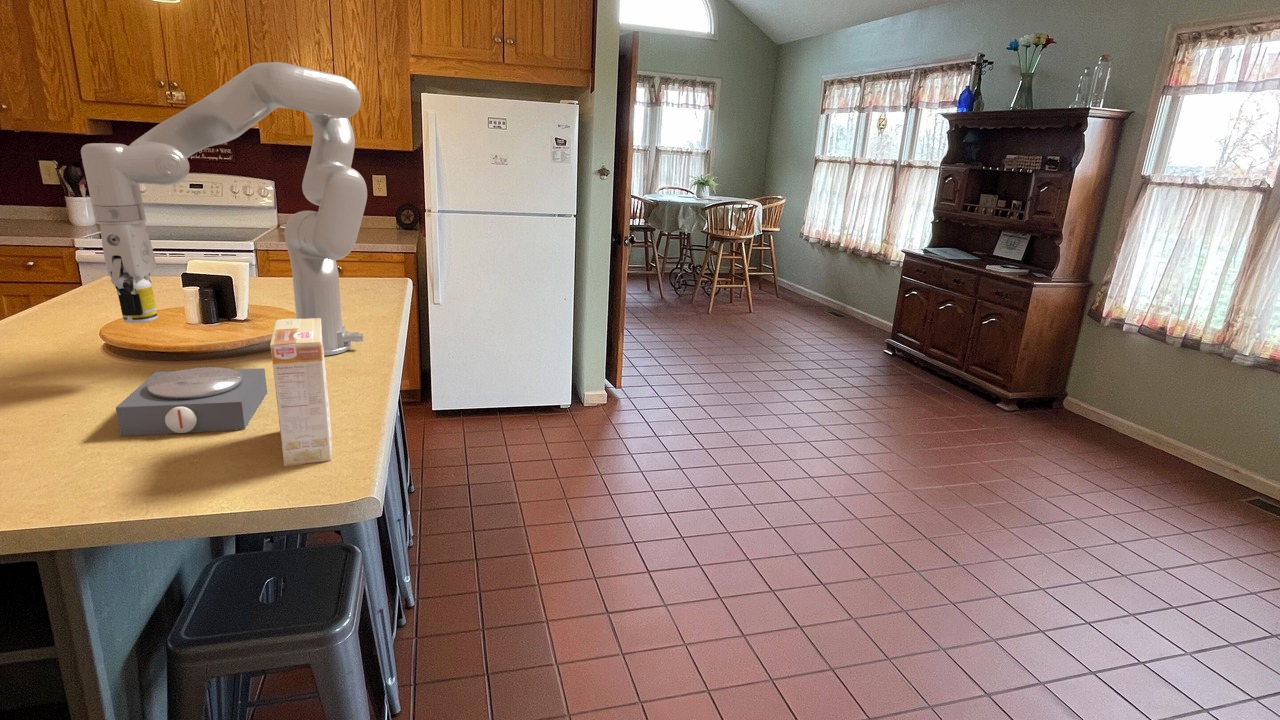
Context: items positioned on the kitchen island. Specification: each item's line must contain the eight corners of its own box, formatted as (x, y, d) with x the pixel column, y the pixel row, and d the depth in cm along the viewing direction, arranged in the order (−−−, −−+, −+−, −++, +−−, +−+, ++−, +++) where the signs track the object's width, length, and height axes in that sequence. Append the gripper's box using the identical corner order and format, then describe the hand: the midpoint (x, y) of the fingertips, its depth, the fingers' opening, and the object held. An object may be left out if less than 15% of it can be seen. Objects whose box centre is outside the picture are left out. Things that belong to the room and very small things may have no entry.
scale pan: (250, 371, 131) (249, 366, 130) (231, 397, 118) (230, 391, 118) (164, 373, 127) (163, 368, 126) (134, 401, 114) (133, 395, 114)
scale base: (267, 392, 135) (264, 368, 133) (243, 431, 117) (240, 404, 116) (159, 397, 130) (155, 371, 128) (118, 438, 112) (113, 409, 111)
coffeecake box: (286, 429, 119) (274, 318, 113) (331, 425, 122) (322, 316, 116) (281, 467, 106) (268, 344, 100) (332, 461, 109) (322, 341, 103)
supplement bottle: (164, 317, 136) (155, 267, 132) (143, 324, 130) (133, 273, 127) (138, 315, 136) (128, 266, 133) (116, 323, 131) (105, 271, 128)
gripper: (125, 220, 120) (145, 322, 126) (159, 208, 136) (176, 299, 141) (73, 220, 118) (96, 323, 124) (115, 208, 134) (133, 300, 139)
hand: (139, 309), depth 133 cm, fingers closed on supplement bottle, 5 cm apart
